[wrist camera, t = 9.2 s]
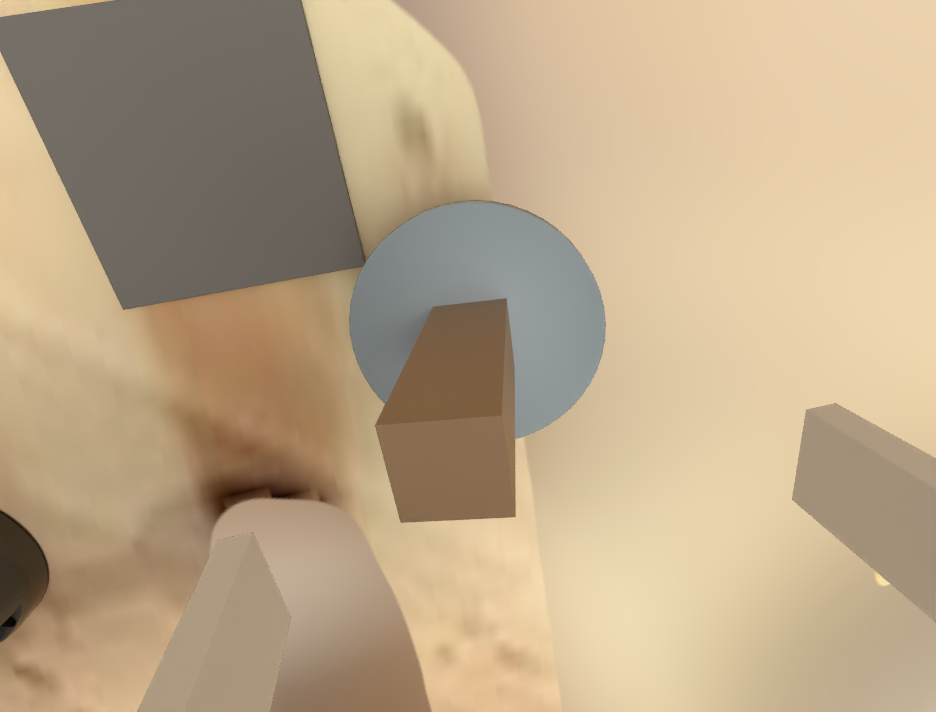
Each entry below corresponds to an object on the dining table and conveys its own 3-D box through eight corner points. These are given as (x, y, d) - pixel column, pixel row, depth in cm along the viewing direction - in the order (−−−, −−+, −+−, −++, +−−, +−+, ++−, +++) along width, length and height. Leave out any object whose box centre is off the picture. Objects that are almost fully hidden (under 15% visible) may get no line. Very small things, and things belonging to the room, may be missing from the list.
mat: (128, 307, 31) (123, 309, 31) (-6, 22, 25) (-16, 19, 24) (365, 264, 32) (365, 265, 32) (295, -22, 26) (293, -26, 25)
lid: (385, 438, 26) (305, 623, 16) (329, 219, 22) (166, 289, 11) (604, 421, 25) (668, 616, 15) (596, 181, 20) (683, 222, 10)
